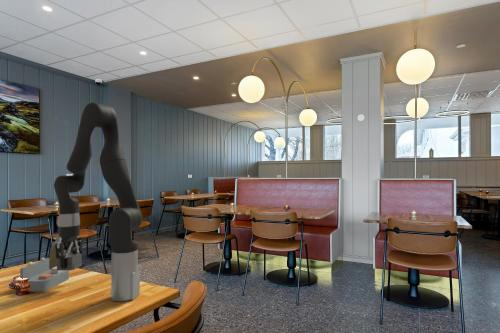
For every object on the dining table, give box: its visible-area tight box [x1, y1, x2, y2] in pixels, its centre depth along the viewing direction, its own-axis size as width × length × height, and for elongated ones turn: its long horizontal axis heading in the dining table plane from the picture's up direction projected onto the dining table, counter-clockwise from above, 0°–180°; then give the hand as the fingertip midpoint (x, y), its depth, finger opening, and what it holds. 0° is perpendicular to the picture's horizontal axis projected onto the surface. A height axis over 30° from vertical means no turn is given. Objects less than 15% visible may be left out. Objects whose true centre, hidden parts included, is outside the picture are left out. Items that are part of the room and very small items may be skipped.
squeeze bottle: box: [48, 233, 65, 270], centre depth 147 cm, size 8×8×18 cm
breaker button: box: [39, 274, 52, 279], centre depth 127 cm, size 3×3×4 cm
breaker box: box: [19, 257, 70, 293], centre depth 130 cm, size 10×15×10 cm
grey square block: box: [57, 253, 83, 271], centre depth 126 cm, size 7×7×5 cm
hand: (69, 265), depth 126 cm, fingers closed on grey square block, 6 cm apart
